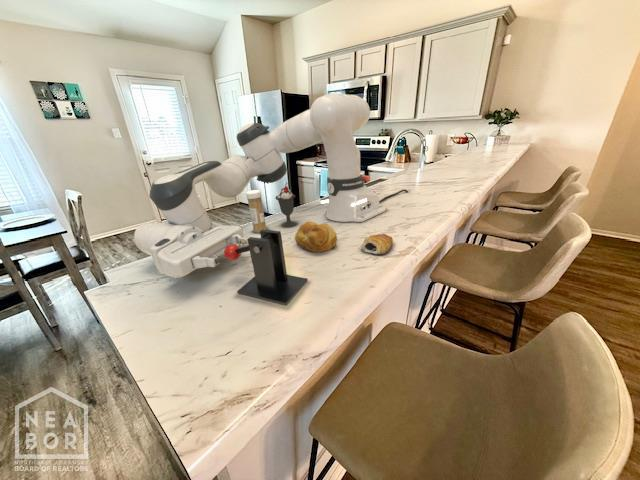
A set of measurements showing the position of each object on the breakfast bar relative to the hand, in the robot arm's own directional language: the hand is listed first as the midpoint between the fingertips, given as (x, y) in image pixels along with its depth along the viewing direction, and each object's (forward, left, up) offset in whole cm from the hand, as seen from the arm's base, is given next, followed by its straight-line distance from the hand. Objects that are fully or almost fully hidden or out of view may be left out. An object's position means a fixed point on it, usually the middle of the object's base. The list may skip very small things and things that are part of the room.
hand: (232, 252), depth 57 cm
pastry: (-35, +8, -8) cm, 37 cm away
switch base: (-5, +8, -8) cm, 12 cm away
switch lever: (-3, +4, 0) cm, 5 cm away
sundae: (-25, -25, -8) cm, 36 cm away
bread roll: (-23, -4, -8) cm, 25 cm away
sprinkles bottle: (-15, -27, -8) cm, 32 cm away
